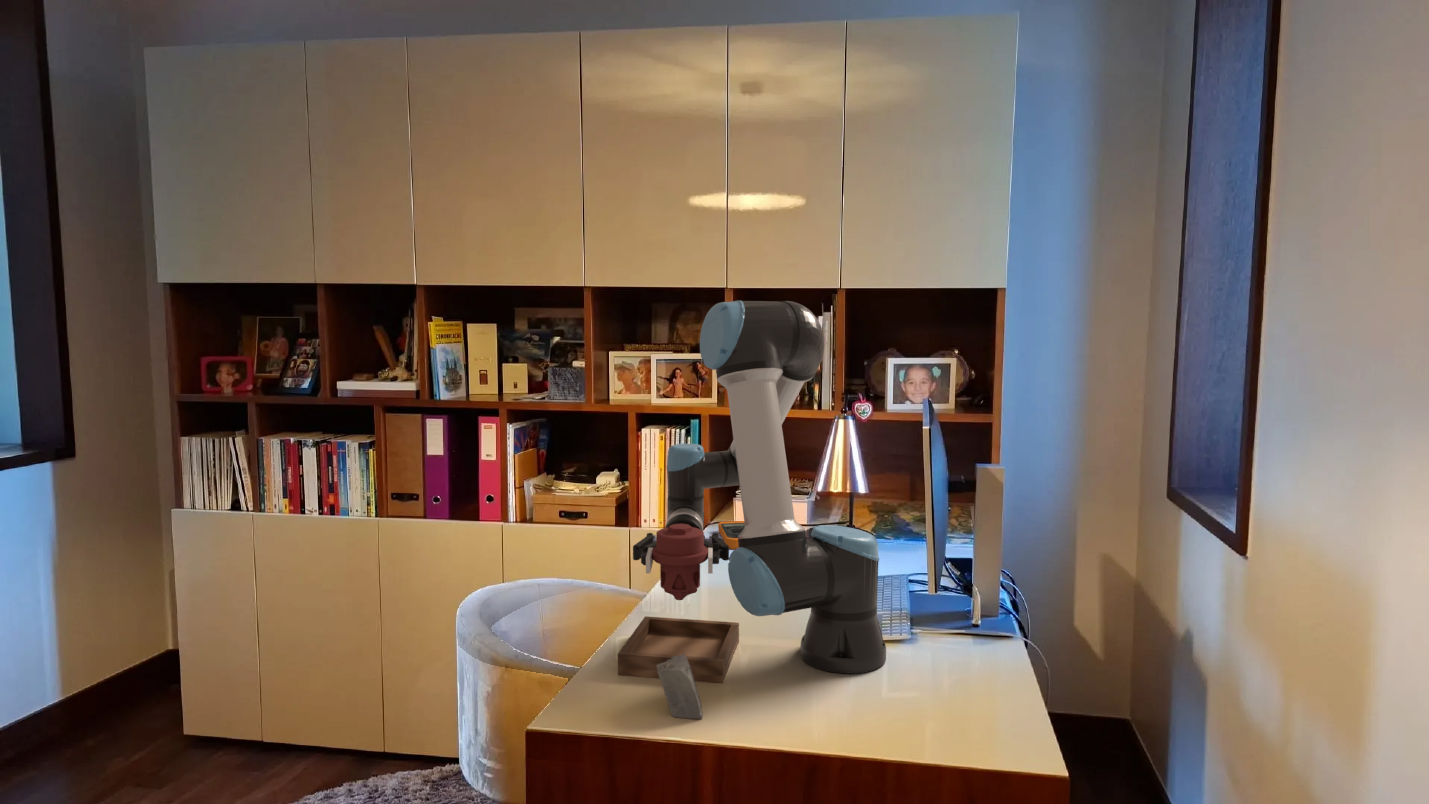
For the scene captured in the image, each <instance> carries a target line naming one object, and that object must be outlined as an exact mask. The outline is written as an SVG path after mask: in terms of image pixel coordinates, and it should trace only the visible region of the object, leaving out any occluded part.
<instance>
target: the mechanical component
mask: <svg viewBox="0 0 1429 804" xmlns="http://www.w3.org/2000/svg"><path fill="white" fill-rule="evenodd" d="M704 533H705V532H704V530H703V531H702V530H700V529H698V528H694V527H691V526H690V525H688V524H673V525H670V526H669V527H667V528H665V527H664V528H660V529H659V530H658V531H656V534H655V535H656V546H655V547H654V548H653V549H652V559H653V562H655V563H656V564H659V566H660V570H659V571H660V576H659V577H660V578H659V579H660V587H661V588H662V589H663V592H665V593H667V594H669V595H672V596H673V597H674V599H675V600H676V601H683V600H684V599H685V598H686V597H687V596H690V595H692V594H696V593H697V592H698V588H699V587H700V586H701V564H703V563H705V562H706V561H707V560H708V548H707V547H705V546H704V536H705V534H704Z"/></svg>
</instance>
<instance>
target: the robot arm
mask: <svg viewBox="0 0 1429 804" xmlns="http://www.w3.org/2000/svg"><path fill="white" fill-rule="evenodd" d="M823 332H824V331H823V328H822V325H821V323H820V321H819V320H818V318H817V316H816V315H815V314H814V313H813V312H812V311H811V310H810V309H809V308H807V307H806V306H804V305H802V304H800V303H798V302H795V301H791V300H790V301H789V300H781V301H771V300H770V301H768V300H767V301H764V300H740V299H739V300H734V301H722V302H718V303H715V304H714V305H713V306H712V307H711V308H710V309H709V310H708V312H706V315H705V317H704V320H703V323H702V325H701V329H700V336H699V353H700V358H701V360H702V361H703V364H704V366H705V367H706V368H707V369H710V370H713V371H714V370H715V372H716V373H715V374H716V380H717V383H719V384H720V385H721V386H722V387H724V388H725V389H726V391H727V392H726V393H727V399H728V407H729V408H728V409H729V415H730V422H731V429H732V442H731V444H730V446H729V447H728V449H727V450H722V451H720V450H719V451H710V452H709V451H708V452H705V450H704V447H703V446H702V445H701V444H697V443H677V444H673V445H671V446H670V447H669V448H668V451H667V457H666V458H667V459H666V463H667V464H666V478H667V499H666V500H667V501H666V502H667V503H666V504H667V505H666V506H667V513H666V514H667V519H666V523H665V527H664V528H667V527H669V526H670V525H673V524H688V525H690V526H691V527H694V528H698V529H700V530H702V531H703V532H704V523H705V510H704V505H705V503H704V502H705V501H704V497H705V490H707V489H715V488H716V489H717V488H724V487H735V486H737V487H738V486H739V490H740V497H741V499H740V500H741V506H742V512H743V521H744V522H745V527H744V529H743V531H742V532H741V533H740V535H739V536H738V544H739V548H737V549H735V550H734V549H733V550H732V551H731V552H730V549H729V546H728V545H727V544H726V543H725V542H724V540H723V539H722V538H720V536H719V535H720V533H717V532H713V533H712V534H709V536H708V537H707V536H705V535H704V546H705V547H707V548H708V559H707V560H708V561H707V562H708V563H707V568H708V569H707V574H713V568H714V567H713V565H719V564H720V559H721V560H722V561H729V562H728V564H727V571H728V578H729V582H730V586H731V589H732V591H733V594H734V596H735V598H736V599H737V602H738V603H740V605H741V607H742V608H743V609H744V610H745V611H746V612H747V613H749V614H751V615H752V616H755V617H764V616H766V617H767V616H780V615H782V614H785V613H790V612H795V611H800V610H805V609H806V610H807V609H810V614H809V616H808V617H809V618H808V620H807V624H806V627H805V631H804V635H802V637H801V640H800V654H799V655H800V657H801V659H802V660H803V662H805V663H806V664H807V665H809V666H811V667H814V668H816V669H818V670H822V671H826V672H831V673H836V674H837V673H839V674H860V673H867V672H872V671H875V670H878V669H879V668H881V667H882V666H884V664H885V663H886V661H887V645H886V642H885V640H884V637H883V632H882V628H881V626H880V622H879V618H878V590H879V589H878V588H879V587H878V586H879V584H878V583H879V580H878V579H879V578H878V577H879V562H880V557H879V544H878V540H877V539H876V537H875V536H874V535H872V534H871V533H869V532H867V531H864V530H861V529H858V528H852V527H848V526H841V525H834V524H833V525H831V524H825V525H823V524H821V525H816V526H814V527H813V528H812V529H811V530H812V531H811V532H810V536H811V538H807V533H806V528H805V527H803V525H801V524H800V523H798V522H797V520H796V519H795V511H794V505H793V498H792V497H793V495H792V490H791V482H790V476H789V475H790V474H789V469H788V468H789V467H788V461H787V455H786V448H785V447H786V446H785V439H784V432H783V427H782V426H783V423H784V422H785V420H786V417H787V416H788V414H789V413H790V410H791V408H792V406H793V405H794V403H795V402H796V399H797V397H798V395H799V393H800V391H801V389H802V388H803V386H804V384H805V383H806V382H808V381H810V380H812V379H813V378H814V377H815V375H816V373H817V371H818V370H819V368H820V366H821V362H822V360H823V358H824V357H823V356H824V352H825V336H824V333H823ZM655 546H656V534H654V533H652V532H647V533H646V536H645V537H643V538H642V539H641V540H640V541H638V542H636V543H635V544H634V545H632V560H633V561H638V560H640V564H641V565H643V566H645V574H651V573H652V568H653V563H654V560H653V559H652V549H653V548H654V547H655Z"/></svg>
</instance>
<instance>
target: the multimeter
mask: <svg viewBox="0 0 1429 804" xmlns="http://www.w3.org/2000/svg"><path fill="white" fill-rule="evenodd" d="M744 527H745V522H744V520H736V521H735V520H733V521H729V520H727V521H720V522H718V534H719V535H721V537H722V538H721V539H722V540H723V541H724V542H725V543H726V544H727V545H728V546H729V550H733V551H734V550H735V549H737V548H739V544H738V536H739V535H740V533H741V532H742V531H743V529H744Z"/></svg>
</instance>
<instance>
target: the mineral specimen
mask: <svg viewBox="0 0 1429 804" xmlns="http://www.w3.org/2000/svg"><path fill="white" fill-rule="evenodd" d="M657 670H658V675H659V678H658V679H659V681H660V682H661V686H662V688H663V692H664V695H665V697H666V701H667V703H668V704H667V705H668V708H669V711H670V714H671V716H672V717H673V718H678V719H679V718H681V719H691V720H692V719H693V720H701V719H703V717H704V716H703V710H702V708H703V706H702V702H701V697H700V695H699V690H698V688H697V684H696V681H695V680H694V677H693V674H692V670H691V668H690V665H689V662H688V659H687V657H686V656H685V654H683V655H678V656H674V657H672V658H671V659H668V660H667V661H666V662H663V663H660V664H658V665H657Z"/></svg>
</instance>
